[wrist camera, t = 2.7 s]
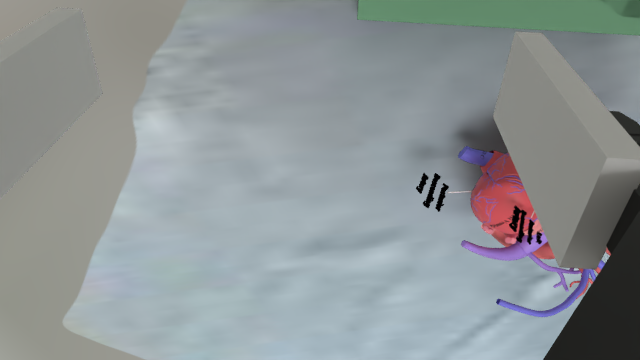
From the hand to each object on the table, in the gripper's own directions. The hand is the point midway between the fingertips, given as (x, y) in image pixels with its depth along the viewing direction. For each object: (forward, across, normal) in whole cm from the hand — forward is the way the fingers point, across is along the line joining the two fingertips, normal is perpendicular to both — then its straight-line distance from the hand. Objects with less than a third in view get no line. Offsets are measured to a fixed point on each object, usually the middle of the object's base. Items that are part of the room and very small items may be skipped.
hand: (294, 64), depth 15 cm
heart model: (+25, -19, +19) cm, 37 cm away
